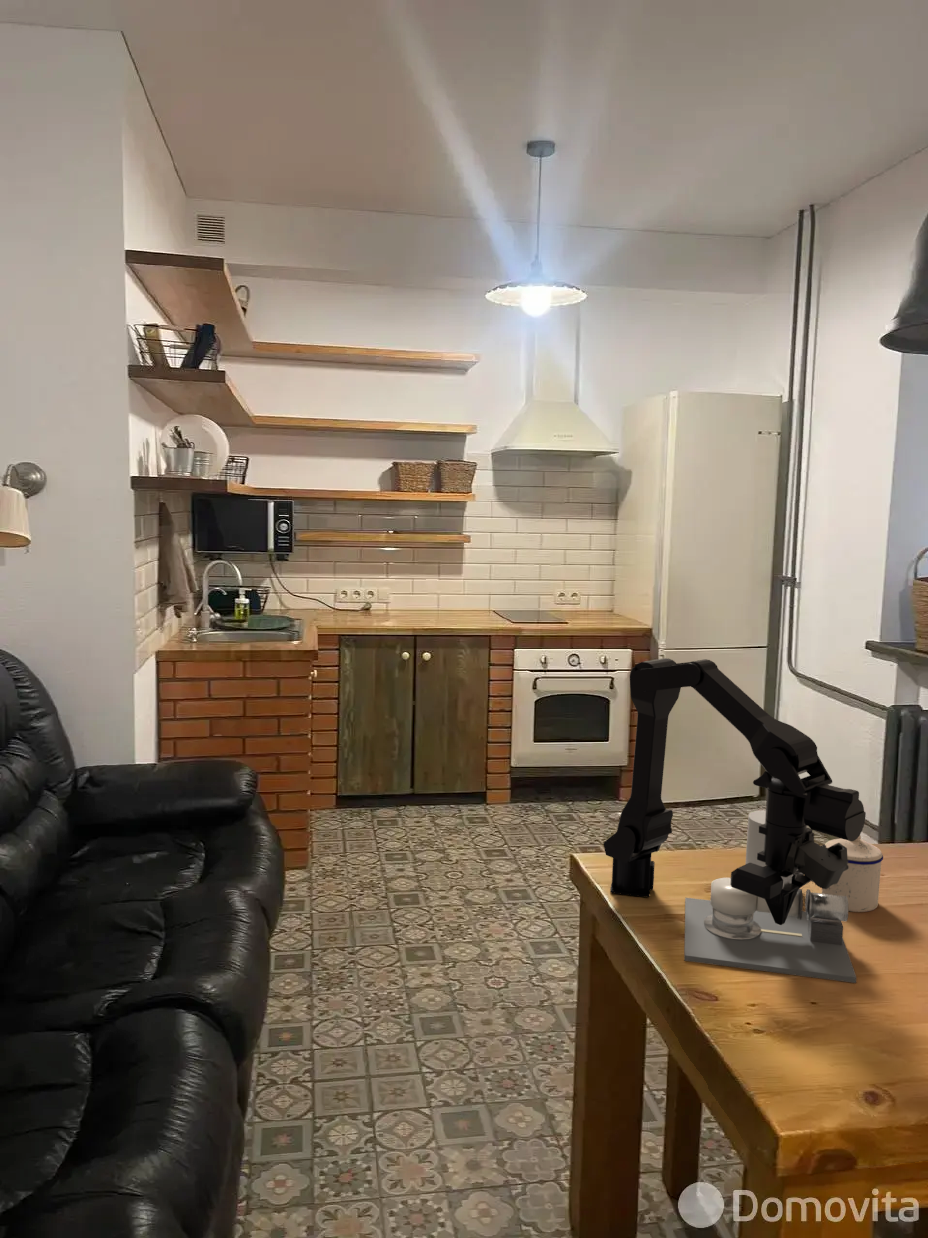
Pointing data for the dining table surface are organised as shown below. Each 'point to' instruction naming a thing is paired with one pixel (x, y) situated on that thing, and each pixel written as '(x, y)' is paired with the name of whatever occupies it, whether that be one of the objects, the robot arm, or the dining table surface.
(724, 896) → the elbow
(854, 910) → the teacup with lid
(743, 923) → the duct stub
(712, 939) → the board
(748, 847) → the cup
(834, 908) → the duct run
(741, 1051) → the dining table surface
